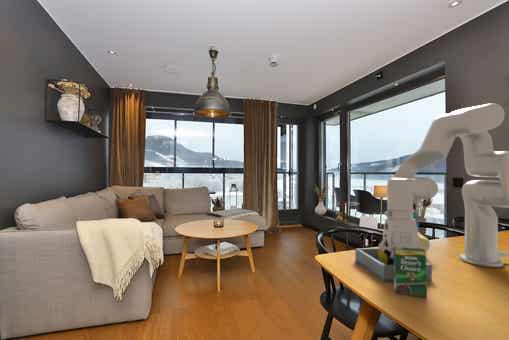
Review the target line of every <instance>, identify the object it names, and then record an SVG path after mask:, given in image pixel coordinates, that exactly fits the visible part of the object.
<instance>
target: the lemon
mask: <svg viewBox="0 0 509 340" xmlns="http://www.w3.org/2000/svg"><path fill="white" fill-rule="evenodd" d="M385 248H386V249H387V247H386V246H385ZM378 255H379V258H380V260H381V261H382V262H383V263H385V264H386V265H387V255H386V254H385V253H384V252H383V251H382V250H381V249H379V251H378Z"/></svg>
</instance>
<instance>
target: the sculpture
mask: <svg viewBox="0 0 509 340" xmlns="http://www.w3.org/2000/svg"><path fill="white" fill-rule="evenodd" d="M418 242H419V243H420V245H421V248H420V249H424V250H425V251H426V253H427V252H428V251H429V250H430V243H431V242H430V240H429V239H428V238H427V237H426V236H424V235H423V234H421V232H420V231H419V232H418Z"/></svg>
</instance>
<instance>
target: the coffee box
mask: <svg viewBox="0 0 509 340" xmlns="http://www.w3.org/2000/svg"><path fill="white" fill-rule="evenodd" d="M393 257H394V282H393V289H394V290H393V291H394V292H395V293H396V294H398V295H406V296H412V297H417V298H418V297H419V298H427V297H428V295H427V294H428V287H427V285H428V284H427V282H428V280H427V276H426V262H427V252H426V251H425V250H424V249H417V248H402V247H393Z"/></svg>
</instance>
